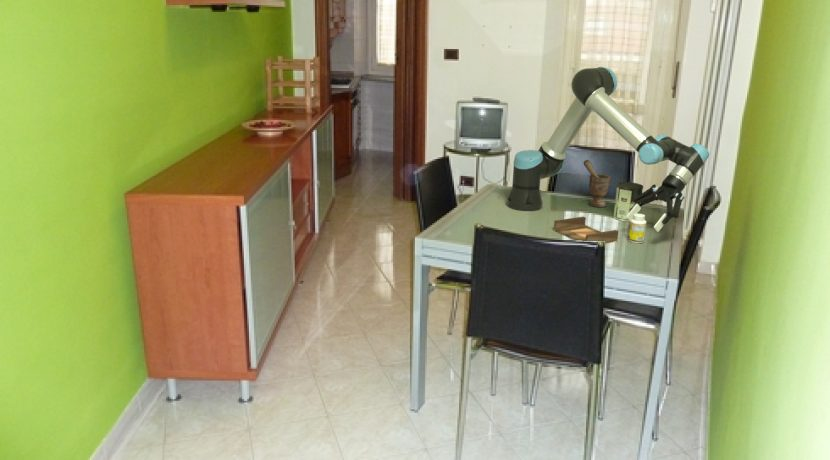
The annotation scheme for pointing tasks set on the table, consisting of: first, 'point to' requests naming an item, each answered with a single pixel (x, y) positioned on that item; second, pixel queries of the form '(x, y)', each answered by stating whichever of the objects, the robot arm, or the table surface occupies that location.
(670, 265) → the table surface
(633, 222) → the supplement bottle
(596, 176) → the mortar and pestle
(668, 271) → the table surface
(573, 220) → the wooden tray with rails
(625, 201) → the coffee can
